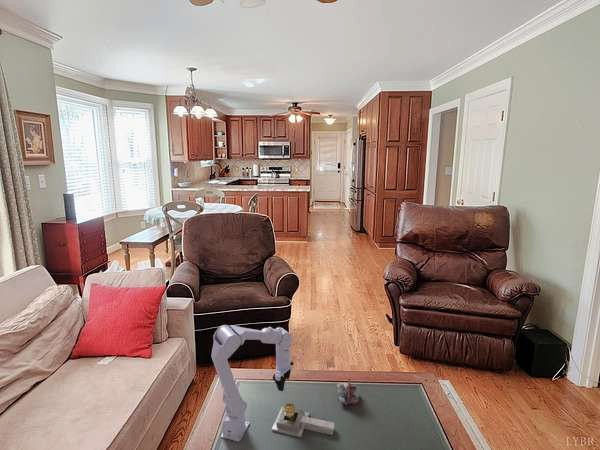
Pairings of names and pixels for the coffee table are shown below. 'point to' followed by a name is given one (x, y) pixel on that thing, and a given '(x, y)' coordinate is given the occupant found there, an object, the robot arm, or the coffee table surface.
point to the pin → (290, 412)
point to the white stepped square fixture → (301, 424)
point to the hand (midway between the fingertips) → (283, 384)
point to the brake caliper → (347, 393)
